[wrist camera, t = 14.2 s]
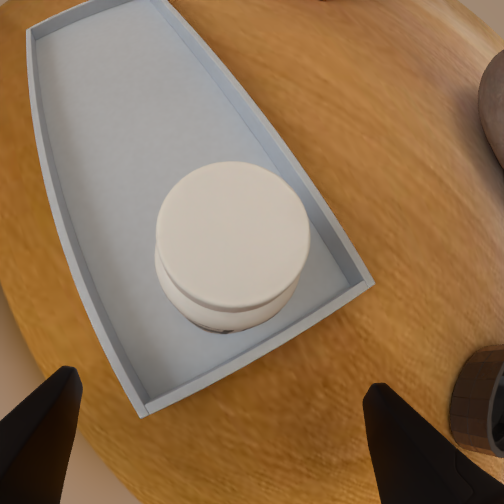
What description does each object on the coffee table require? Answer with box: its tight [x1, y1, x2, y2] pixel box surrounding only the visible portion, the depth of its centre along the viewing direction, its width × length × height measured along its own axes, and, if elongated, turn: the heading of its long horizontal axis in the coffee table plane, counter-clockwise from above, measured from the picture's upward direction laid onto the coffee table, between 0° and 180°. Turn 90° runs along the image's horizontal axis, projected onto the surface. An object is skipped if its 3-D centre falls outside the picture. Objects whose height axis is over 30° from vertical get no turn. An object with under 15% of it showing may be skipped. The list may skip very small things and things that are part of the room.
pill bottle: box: [154, 161, 311, 334], centre depth 14 cm, size 6×6×10 cm
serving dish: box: [26, 0, 375, 418], centre depth 21 cm, size 15×39×2 cm, turn 30°
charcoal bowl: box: [450, 344, 504, 458], centre depth 17 cm, size 9×9×4 cm
